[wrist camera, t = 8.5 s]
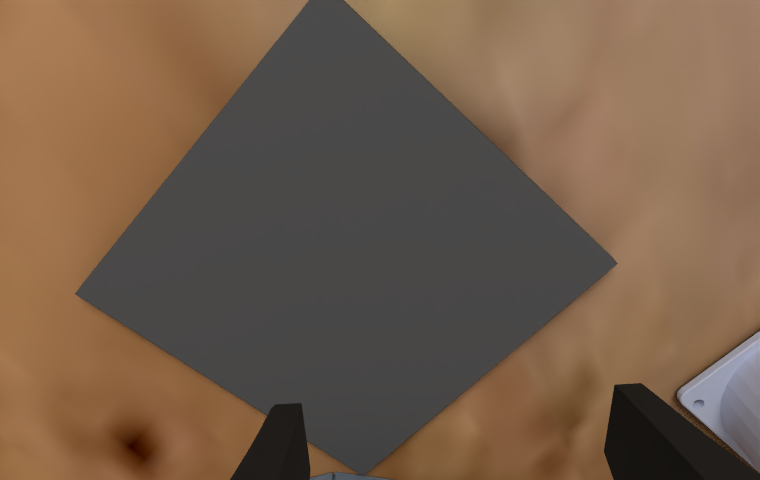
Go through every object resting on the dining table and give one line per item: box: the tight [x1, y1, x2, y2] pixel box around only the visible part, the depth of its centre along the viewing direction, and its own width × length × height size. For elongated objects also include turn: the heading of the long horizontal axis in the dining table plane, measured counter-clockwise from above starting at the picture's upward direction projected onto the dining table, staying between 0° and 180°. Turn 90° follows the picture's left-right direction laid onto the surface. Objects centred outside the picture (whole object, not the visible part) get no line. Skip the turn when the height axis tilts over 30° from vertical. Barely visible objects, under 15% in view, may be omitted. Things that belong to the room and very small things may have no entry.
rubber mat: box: [75, 0, 617, 476], centre depth 23 cm, size 15×15×1 cm
